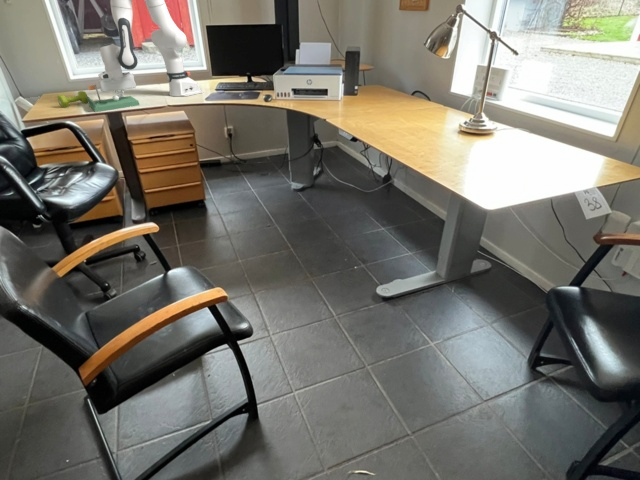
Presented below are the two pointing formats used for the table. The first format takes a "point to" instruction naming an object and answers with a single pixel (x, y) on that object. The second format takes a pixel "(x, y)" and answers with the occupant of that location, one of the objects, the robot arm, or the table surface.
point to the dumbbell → (72, 99)
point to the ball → (115, 98)
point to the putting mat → (110, 102)
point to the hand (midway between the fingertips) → (121, 97)
